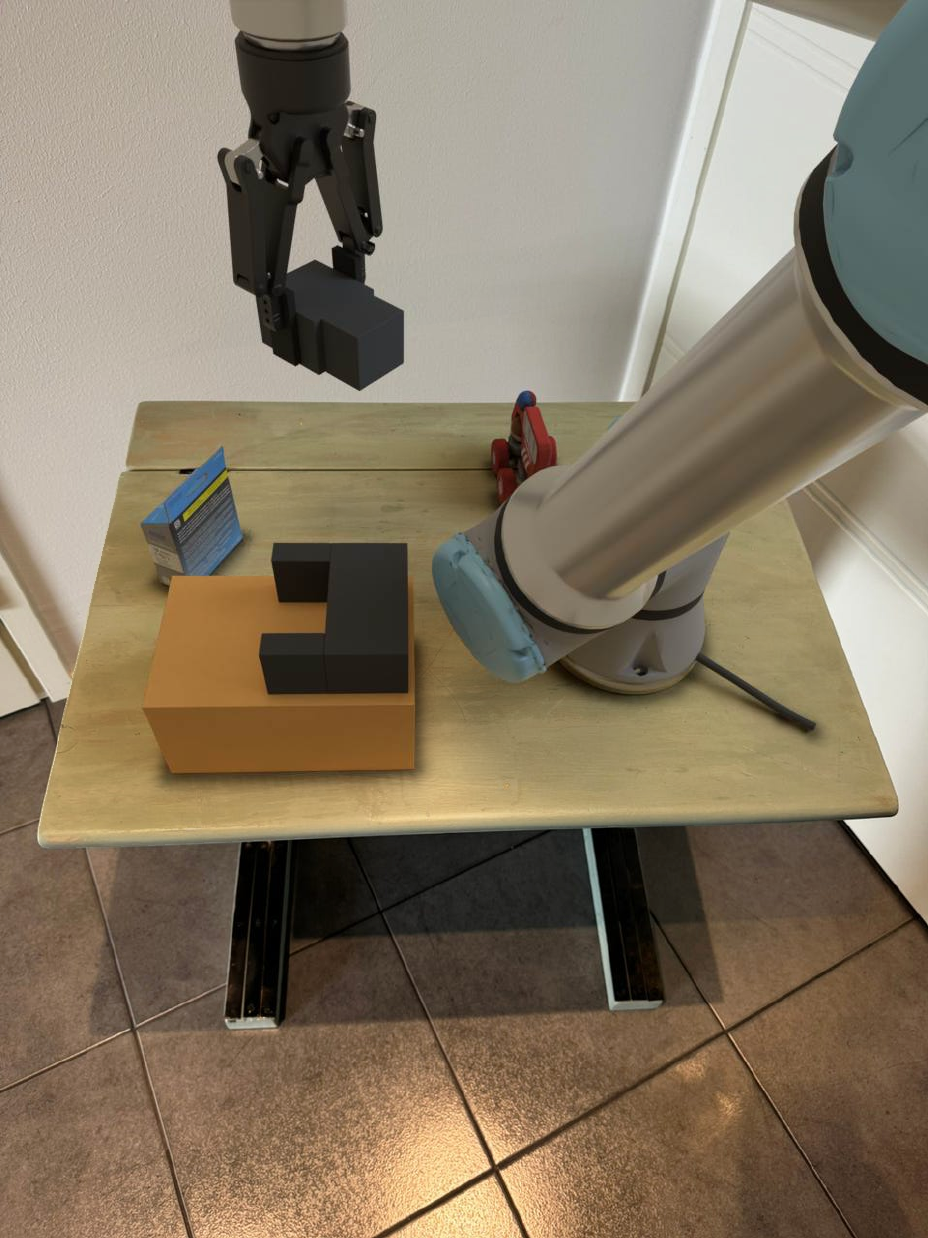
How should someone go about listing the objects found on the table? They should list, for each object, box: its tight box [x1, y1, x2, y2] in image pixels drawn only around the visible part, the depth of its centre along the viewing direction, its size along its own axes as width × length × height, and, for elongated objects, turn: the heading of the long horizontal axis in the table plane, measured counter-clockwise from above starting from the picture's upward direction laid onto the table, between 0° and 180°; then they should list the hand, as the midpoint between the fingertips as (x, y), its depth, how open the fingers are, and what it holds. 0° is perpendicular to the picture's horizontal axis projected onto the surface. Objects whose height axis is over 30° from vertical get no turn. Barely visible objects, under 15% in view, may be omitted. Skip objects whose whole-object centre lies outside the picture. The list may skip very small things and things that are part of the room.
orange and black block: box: [141, 542, 416, 774], centre depth 68 cm, size 20×13×15 cm, turn 93°
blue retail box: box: [140, 445, 244, 587], centre depth 79 cm, size 9×4×12 cm, turn 156°
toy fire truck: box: [490, 390, 559, 506], centre depth 90 cm, size 7×12×10 cm, turn 7°
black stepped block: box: [254, 259, 405, 392], centre depth 71 cm, size 11×7×5 cm, turn 51°
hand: (319, 339), depth 73 cm, fingers closed on black stepped block, 7 cm apart
